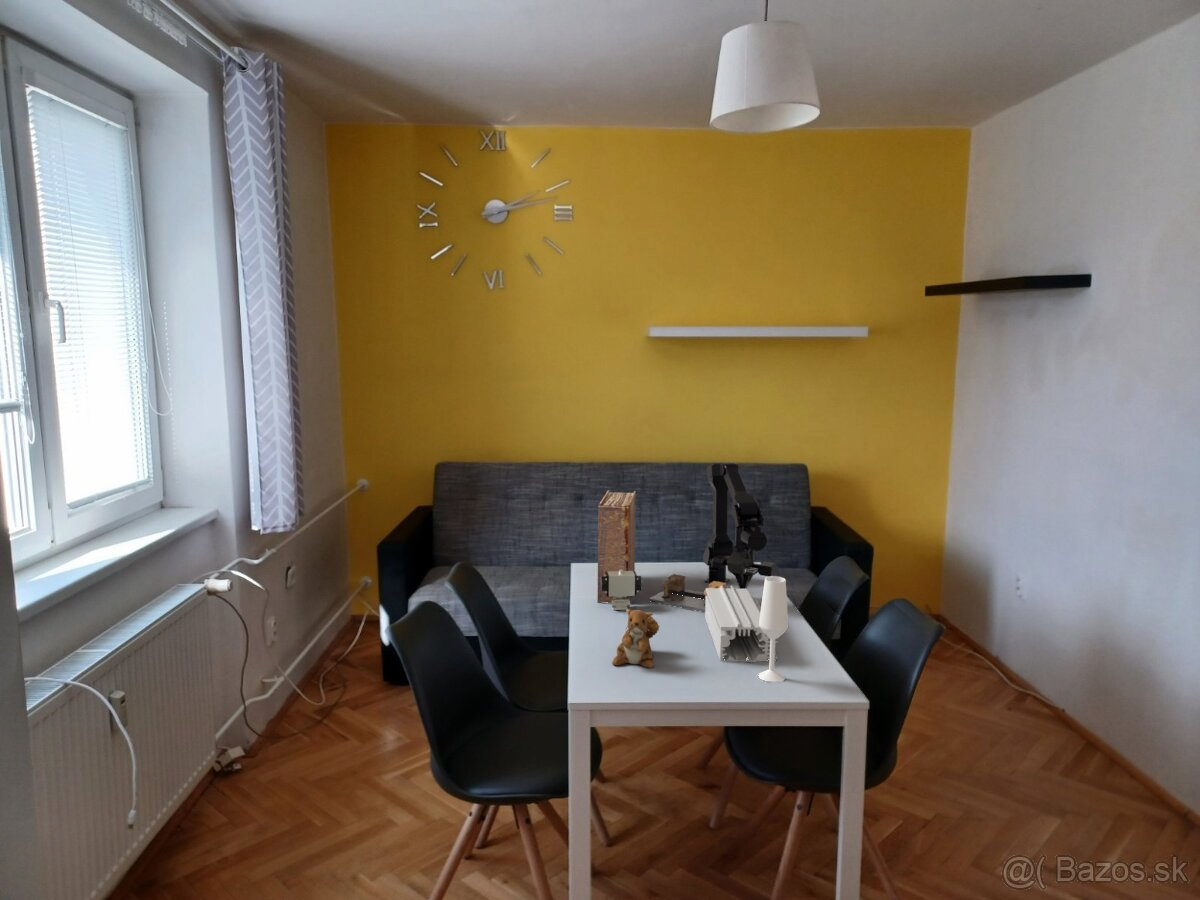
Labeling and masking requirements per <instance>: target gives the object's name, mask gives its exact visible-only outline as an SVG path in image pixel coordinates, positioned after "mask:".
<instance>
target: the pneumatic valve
mask: <svg viewBox="0 0 1200 900" xmlns="http://www.w3.org/2000/svg"><path fill="white" fill-rule="evenodd" d="M600 586H601V591H605V593H606V596H615V597H614V598H613V599H612V601H611V603H610V605H611V608H613V610H614V611H616V610H623V611H626V610H627V609H629V608H630V606H631V600H630V598H629V599H627V597H626V596H630V597H637V596H638V595H637V594H638V593H639V591H642V588H643V587H642V586H643V583H642V576H641V575H638V574H637V573H636V570H635V571H623V570H622V569H620V570H619V571H605V575H604V576H601V579H600Z"/></svg>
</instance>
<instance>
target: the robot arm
mask: <svg viewBox="0 0 1200 900" xmlns="http://www.w3.org/2000/svg"><path fill="white" fill-rule="evenodd" d="M706 476H707V477H708V480H707V481H708V483H709V485H710V486H711V488H712V493H713V494H712V499H713V501H712V534H711V536H710V537H709V539H708V540H707V547H706V548H705V550H704V553H703V555H702V559H703V560H702V561H703V563H704V564H705V565H706V566H708V577H707V578H706V579H704V583H708V584H710V583H712V582H713V581H717V582H722V583H726V584H727V583H728V582H730V578H727V571H728V572H729V574H732V575H733V576H734V577H735V580H736V581H737V585H738V589H747V590H748V587H749V584H750V582H751V580H752V578H753V577H754V576H756V574H758V575H760V576H763V577H769V576H775V575H776V573H778V566H777V564H776V562H770V561H763V562H762V563H755V562H756V558H755V552H759V551H762V550H763V549H765V548H766V546H767V543H768V539H767V535H766V534H765V533H764V532H762V531H761V530H762V529H761V527H762V526H764V522H765V521H764V520H765V519H764V516H763V513H762V509H761V507H760V505H759V504H758V501H757V500H756V498H755V496H753V495H751V494H750V493H748V490H747V488H746V486H745V483H744V481H743V479H742V476H741V473H740V472H739V464H738V463H736V462H729V461H728V462H727V461H726V462H711V463H710V465H708V466H706ZM729 494H730V497H731V499H732V505H731V514H732V518H733V521H734V525H735V526H734V527H735V528H734V529H735V530H734V531H735V532H734V543H733V541H732V540H731V538H730V537H729V535H728V519H729V518H728V515H729V514H728V510H729V509H728V508H729V507H728V505H729V503H728V500H729V497H728V495H729Z"/></svg>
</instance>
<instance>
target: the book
mask: <svg viewBox="0 0 1200 900" xmlns="http://www.w3.org/2000/svg"><path fill="white" fill-rule="evenodd" d="M636 497H637V491H635V490H634V491H633V492H615V491H614V492H611V491H610V489H608V490H607V491H606V493H605V495H604V496H603V497H602V499H601V501H600V502H599V504H598V506H597V507H598V508H597V512H598V513H597V514H598V515H597V517H598V518H597V519H598V520H597V521H598V524H597V603H598V602H608V603H607V604H611V601H612V599H613V598H614V597H615V596H606V593H605V591H601V586H600V579H601V576H604V575H605V571H619V570H620V569H622V570H623V571H635V572H636V569H635V568H636V567H635V565H636V564H635V562H636V560H635V559H636V513H637V512H636V505H637V502H636V499H637V498H636ZM626 597H627V599H629V600H630V597H631V596H626Z"/></svg>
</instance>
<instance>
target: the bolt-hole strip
mask: <svg viewBox="0 0 1200 900" xmlns="http://www.w3.org/2000/svg"><path fill="white" fill-rule="evenodd" d="M650 601H651V602H650ZM653 602H655V603H654V604H658V603H661V604H660V605H663V604H665V606H668V605H671V606H670V607H673V606H676V607H675V608H678V607H682V608H681V609H684V608H685V609H684V610H689V609H691V610H690V611H694V610H696V611H695V612H699V611H701V612H700V613H704V612H705V600H703V599H698V598H693V597H688V596H682V595H677V594H672V593H668V596H664V591H660V592H658V593H657V594H655V595H653V596H651V597H650V598H649V603H653Z"/></svg>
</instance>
